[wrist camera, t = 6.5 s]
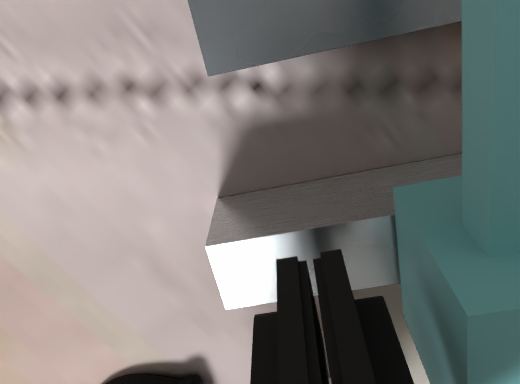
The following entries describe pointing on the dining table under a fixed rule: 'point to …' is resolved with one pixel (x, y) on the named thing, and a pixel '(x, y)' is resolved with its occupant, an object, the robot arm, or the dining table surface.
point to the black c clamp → (154, 379)
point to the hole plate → (304, 26)
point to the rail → (313, 229)
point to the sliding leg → (470, 219)
